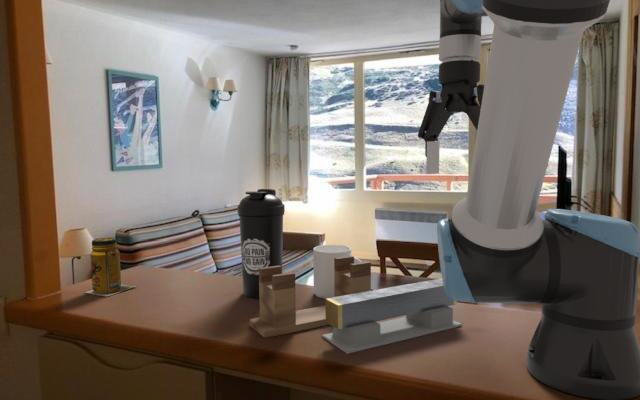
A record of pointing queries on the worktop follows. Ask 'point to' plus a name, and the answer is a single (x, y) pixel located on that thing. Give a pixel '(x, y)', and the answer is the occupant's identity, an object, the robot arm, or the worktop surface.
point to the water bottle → (260, 236)
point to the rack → (281, 297)
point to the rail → (385, 303)
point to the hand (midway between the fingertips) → (456, 175)
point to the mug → (327, 268)
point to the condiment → (106, 268)
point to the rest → (392, 330)
